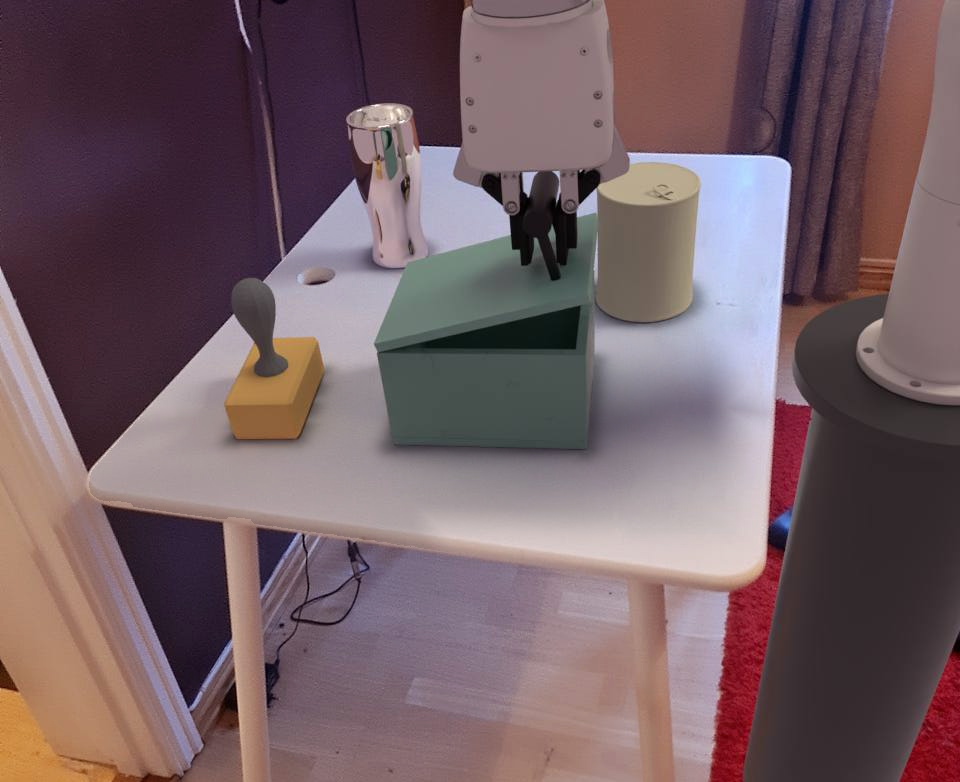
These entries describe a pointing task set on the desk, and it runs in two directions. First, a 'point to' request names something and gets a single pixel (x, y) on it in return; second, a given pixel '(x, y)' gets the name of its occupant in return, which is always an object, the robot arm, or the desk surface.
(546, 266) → the lid
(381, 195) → the silver metal vase
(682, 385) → the desk surface
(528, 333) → the green rectangular box
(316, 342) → the rubber stamp
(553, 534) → the desk surface
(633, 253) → the can
